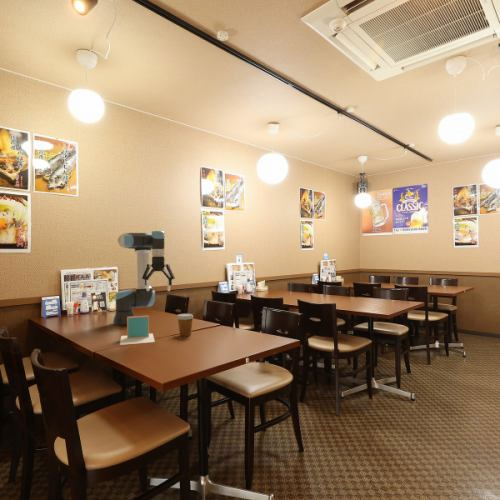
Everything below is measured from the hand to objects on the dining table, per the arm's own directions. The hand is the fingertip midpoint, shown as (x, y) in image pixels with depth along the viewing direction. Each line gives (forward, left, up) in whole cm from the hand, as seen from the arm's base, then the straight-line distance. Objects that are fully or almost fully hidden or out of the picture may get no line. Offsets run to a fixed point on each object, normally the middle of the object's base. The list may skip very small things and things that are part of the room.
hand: (158, 290), depth 215 cm
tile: (+4, -14, -25) cm, 29 cm away
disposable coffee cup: (+13, +11, -26) cm, 32 cm away
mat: (+7, -16, -26) cm, 31 cm away
